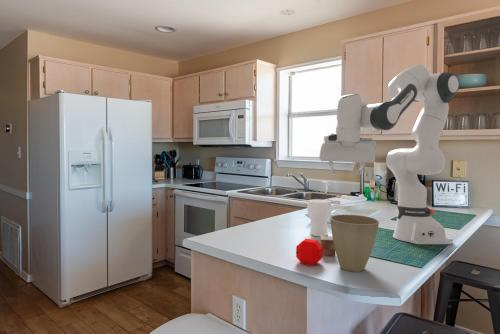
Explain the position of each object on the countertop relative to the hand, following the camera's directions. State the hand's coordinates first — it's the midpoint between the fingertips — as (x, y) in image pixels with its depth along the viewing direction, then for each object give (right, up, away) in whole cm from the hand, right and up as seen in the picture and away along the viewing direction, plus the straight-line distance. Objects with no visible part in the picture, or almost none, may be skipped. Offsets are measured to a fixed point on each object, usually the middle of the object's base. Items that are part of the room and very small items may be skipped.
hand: (345, 174), depth 131 cm
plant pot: (-3, -30, -20) cm, 36 cm away
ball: (-17, -30, -15) cm, 37 cm away
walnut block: (-8, -29, -5) cm, 31 cm away
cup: (-6, -28, +23) cm, 37 cm away
